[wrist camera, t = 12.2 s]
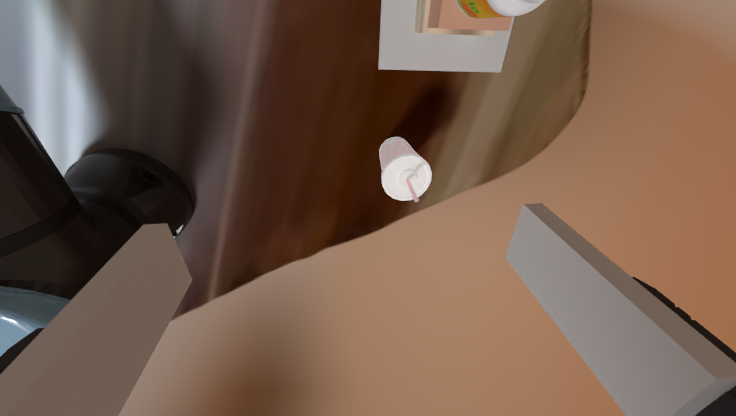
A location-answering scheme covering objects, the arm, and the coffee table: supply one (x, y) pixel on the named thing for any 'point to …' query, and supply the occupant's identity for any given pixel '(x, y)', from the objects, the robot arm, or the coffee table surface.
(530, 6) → the supplement bottle
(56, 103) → the coffee table surface
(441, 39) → the tower mat
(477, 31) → the tower base block
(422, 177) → the beverage cup
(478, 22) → the tower top block
